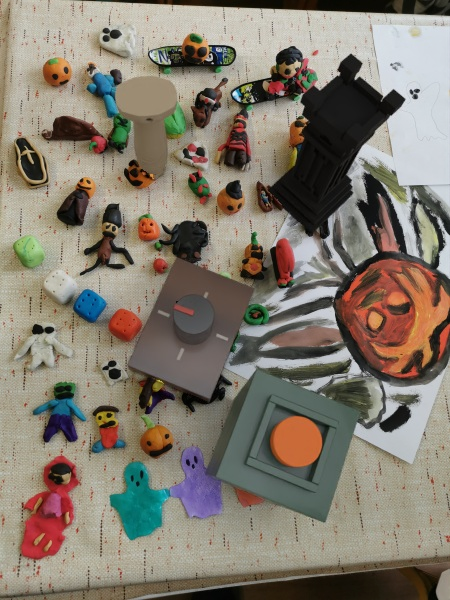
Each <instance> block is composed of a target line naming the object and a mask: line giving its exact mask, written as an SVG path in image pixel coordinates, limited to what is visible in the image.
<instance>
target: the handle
mask: <svg viewBox="0 0 450 600" xmlns="http://www.w3.org/2000/svg"><path fill="white" fill-rule="evenodd" d="M177 91H178V90H177V88H176V86H175V84H174V83H173V82H172V81H171V80H170V79H166V78H163V77H159V76H155V75H143V76H134V77H132V78H129V79H126V80H125V81H123V82H121V83H119V84H118V85H117V87H116V89H115V91H114V92H115V93H114V100H115V104H116V108H117V111H118V113H119V115H120V116H121V118H123V119H125V120H128V121H131V122H132V123H133V147H134V153H135V157H136V161H137V163H138V166H139V165H140V166H139V168H140V167H141V168H142V169H143V170H144V171H146V172H147V173H150V174H153V178H154V179H153V180H158V178H159V177H160V176H162V175H164V174H165V173H166V170H167V167H166V165H167V161H168V156H169V155H168V154H169V146H168V137H167V130H166V125H165V119H168V118H170V117H171V116H173V115H174V114H175V113H176V111H177V106H178V92H177ZM141 168H140V169H141Z"/></svg>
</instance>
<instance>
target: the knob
mask: <svg viewBox="0 0 450 600" xmlns="http://www.w3.org/2000/svg"><path fill="white" fill-rule="evenodd" d="M213 321H214V308H213V306H212V304H211V303H210V301H209V300H207V299H206V298H205V297H203V296H200V295H196V294H192V295H187V296H184V297H182V298H181V299H180V300H179V301H178V302H177V303H176V304H175V306H174V309H173V326H174V332H175V334H176V336H177V337H178V338H179V339H180V340H181V341H183V342H185V343H187V344H199V343H201V342H203V341H205V340H206V339H207V338H208V337H209V335H210V333H211V330H212V326H213Z"/></svg>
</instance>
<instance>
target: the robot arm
mask: <svg viewBox="0 0 450 600" xmlns="http://www.w3.org/2000/svg"><path fill="white" fill-rule="evenodd" d="M435 594H436V597H437V599H438V600H450V568H448V569H446V570H444V571H442V572H441V574H440V576H439V579H438V583H437V585H436V589H435Z"/></svg>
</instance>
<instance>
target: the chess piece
mask: <svg viewBox="0 0 450 600" xmlns="http://www.w3.org/2000/svg"><path fill="white" fill-rule="evenodd" d="M363 65H364V63H363V62H362V61H361V60H360V59H359V58H357V57H356V55H354V54H352V53H349V54H348V55H347V56H346V57H344V59H342V60H341V61H340V63H339V64H338V67H337V72H338V73H339V75H338V74H337V75H336V76H334V78H332V79H331V80H330V81H329V82H328V83H327V84H325V86H323V87H322V88H321V89H319V88H318V87H317V86H315V85H312V86H311V87H309V88H308V89H307V90H306V91H305V92H304V93H303V94H302V96H301V98H300V104H301V105H302V106H304V107H303V110H302V112H301V116H302V117H303V118H304V119H305V120H306V121H308V123H307V124H306V125H305V126H304V127H302V129H301V131H300V134H301V135H302V136H303V141H302V143H301V145H300V149H299V151H298V154H297V157H296V159H295V162H294V165H293V166H291V168H289V169H288V170H287V171H286V172H285V173H284V174H283V175H282V176H281V177H279V179H278V180H276V181H275V182H274V183H273V184H272V185H271V186H270V187H269V188H268V189H267V190H268V191H269V192H270V193H271V194H272V195H274V197H275V198H276V199H278V201H279V202H280V203H281V204H282V206H281V207H282V208H283V209H284V211H286V212H287V213H288V214H289V215H290V216H292V218H293V219H294V220H295V221H297V222H298V223H299V224H300V225H301V226H302V227H303V228H305V230H307V232H309V233H310V234H311V235H312V234H313V233H314V232H316V231H317V230H318V229H319V228H320V227H321V226H322V225H323V224H324V223H325V222H326V221H327V220H328V219H329V218H330V217H331V216H332V215H334V213H336V212H337V210H338V209H340V208H341V207H342V206H343V205H344V204H345V203H346V202H347V201H348V200H349V199H350V198H351V197H352V196H353V195H354V193H355V192H354V191H353V190H352V189H353V187H354V185H352V184H351V183H352V182H353V179H351V178H350V176H349V175H348V173H349V171H350V169H351V167H352V165H353V164H354V162H355V160H356V158H357V157H358V155H359V153H360V151H361V149H362V148H363V146H364V145H366V144H367V142H368V141H370V140H371V139H372V138H373V137H374V135H375V134H376V131H377V130H378V129H379V128H380V127H381V126H382V125H383V124H385V123H386V122H387V121H388V120H389V119H390V117H392V116H393V115H395V113H397V112H398V110H399V109H400V108H402V107H403V105H404V103H405V101H406V100H407V98H406V97H404V96H403V95H402V94H401V93H399V91H397V90H396V89H394V88H393V89H391V90H390V91H389V92H388V93H387V94H386V95H385V96H384V95H383V94H382V93H381V92H380V91H378V90H377V89H376V88H375V87H373V86H372V85H371V84H370V83H368V82H367V81H366V80H365V79H364V78H363V77H361V76H360V75H359V76H358V77H357V74H358V73H360V71H361V69H362V67H363ZM356 77H357V78H356Z"/></svg>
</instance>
